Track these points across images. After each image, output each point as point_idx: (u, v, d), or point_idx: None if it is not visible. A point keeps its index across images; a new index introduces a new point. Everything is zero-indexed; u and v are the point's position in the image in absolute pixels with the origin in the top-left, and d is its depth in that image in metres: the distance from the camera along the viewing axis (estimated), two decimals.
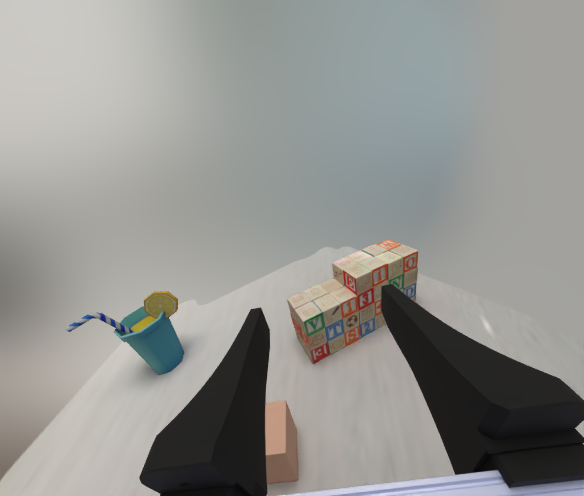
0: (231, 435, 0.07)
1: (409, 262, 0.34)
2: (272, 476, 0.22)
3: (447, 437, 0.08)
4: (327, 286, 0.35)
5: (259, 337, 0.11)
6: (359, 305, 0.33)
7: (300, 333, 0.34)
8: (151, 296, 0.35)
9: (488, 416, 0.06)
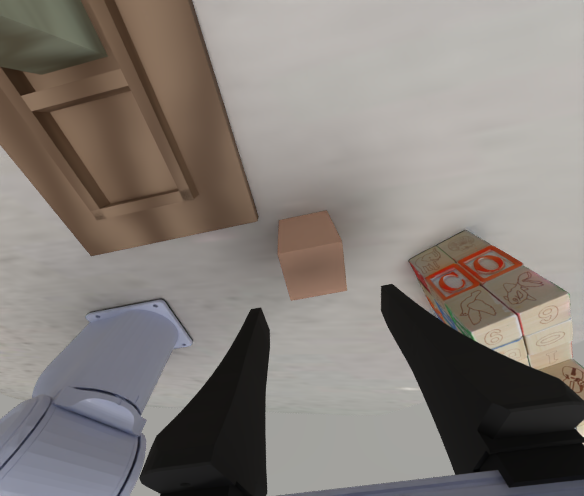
0: (231, 435, 0.07)
1: None
2: None
3: (447, 437, 0.08)
4: (551, 352, 0.17)
5: (259, 337, 0.11)
6: None
7: (462, 268, 0.19)
8: None
9: (488, 416, 0.06)
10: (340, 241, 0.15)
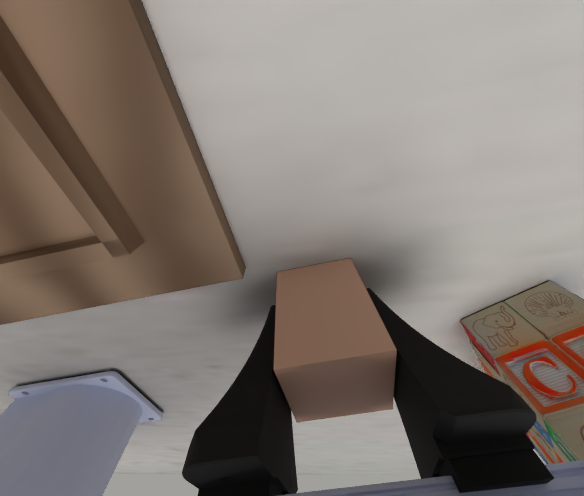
0: (270, 430, 0.07)
1: None
2: None
3: (413, 441, 0.08)
4: None
5: None
6: None
7: (564, 353, 0.12)
8: None
9: (440, 423, 0.06)
10: (393, 349, 0.08)
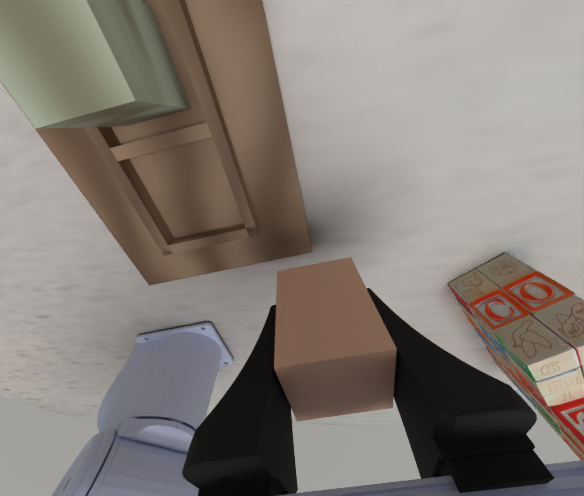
0: (269, 430, 0.07)
1: (581, 456, 0.22)
2: None
3: (413, 441, 0.08)
4: None
5: None
6: (527, 384, 0.21)
7: (508, 295, 0.19)
8: None
9: (439, 422, 0.06)
10: (393, 347, 0.08)
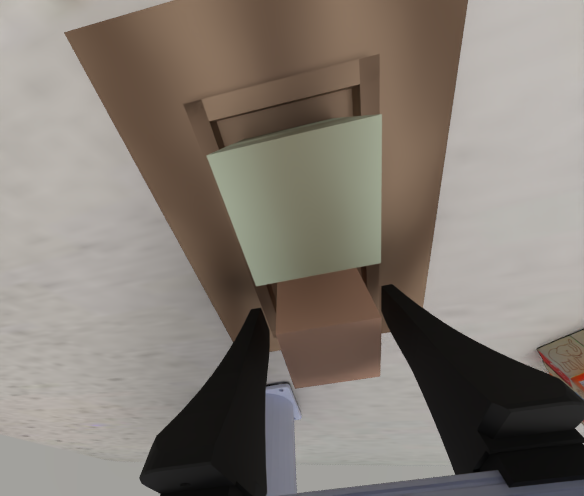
0: (231, 435, 0.07)
1: None
2: None
3: (447, 437, 0.08)
4: None
5: (259, 337, 0.11)
6: None
7: None
8: None
9: (488, 416, 0.06)
10: (378, 316, 0.09)
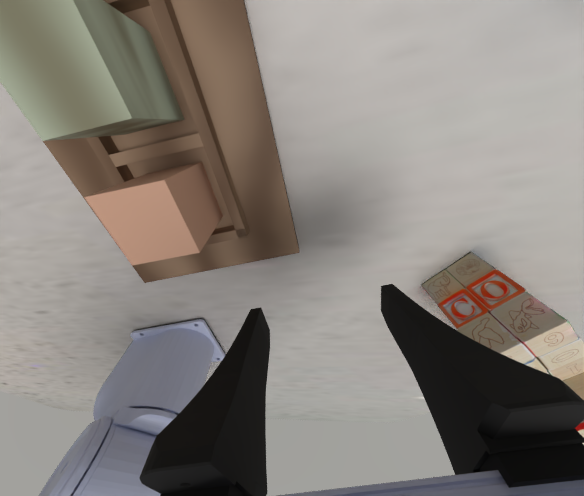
0: (231, 435, 0.07)
1: None
2: None
3: (447, 437, 0.08)
4: (571, 365, 0.18)
5: (259, 337, 0.11)
6: None
7: (471, 294, 0.20)
8: None
9: (488, 416, 0.06)
10: (163, 180, 0.11)
